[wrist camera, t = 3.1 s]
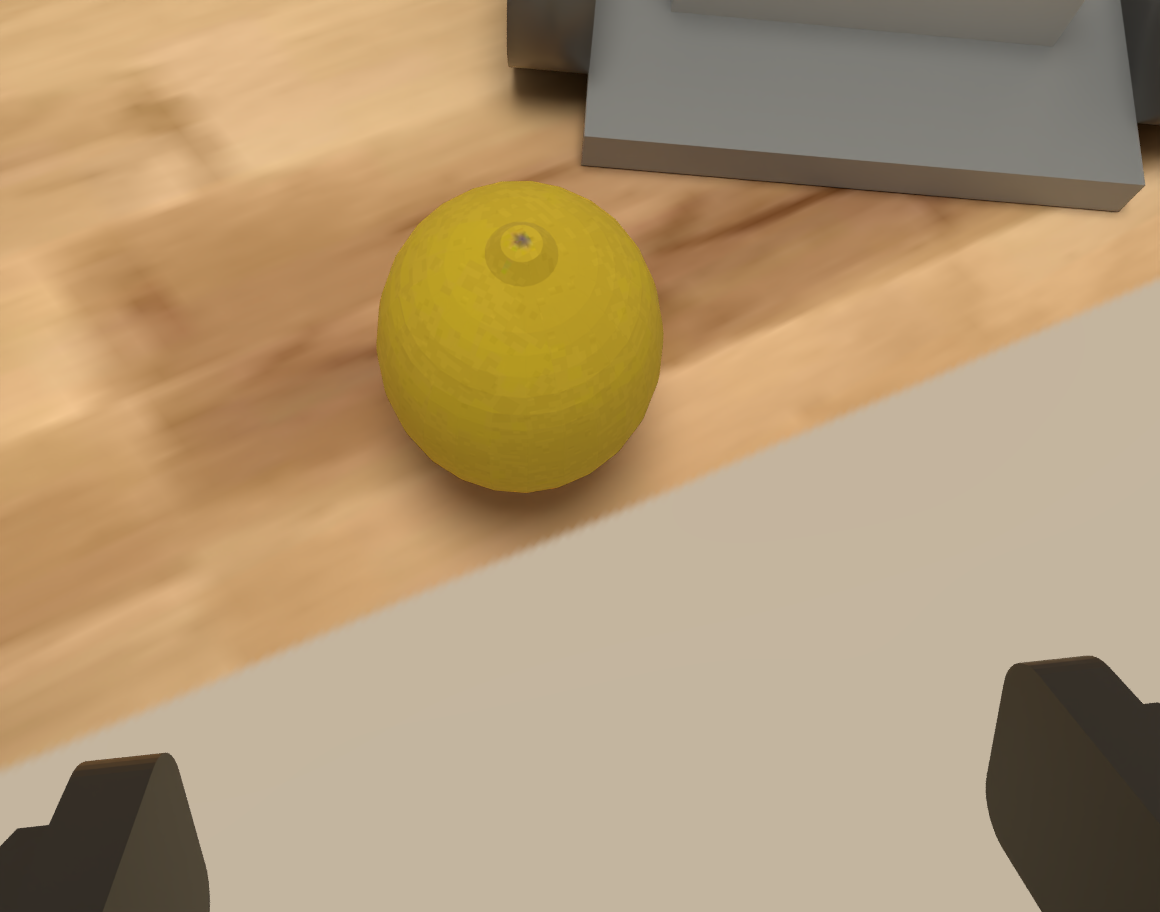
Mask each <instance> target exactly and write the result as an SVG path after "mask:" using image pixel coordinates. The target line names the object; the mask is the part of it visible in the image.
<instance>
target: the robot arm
mask: <svg viewBox="0 0 1160 912" xmlns="http://www.w3.org/2000/svg"><path fill="white" fill-rule="evenodd" d="M986 799H987V806H988V810H989V816H990V819H991V822H992V825H993V829H994V831H995V834H996V836H997V838H998V841H999V843H1000V844H1001V846H1002V848H1003V850H1004V851H1005V853H1006V855H1007V856H1008V858H1009V859H1010V861H1011V863H1012V864H1013V866H1014V867H1015V869H1016V871H1017V872H1018V874H1019V876H1020V877H1021V879H1022V880H1023V882H1024V884H1025V885H1026V887H1027V889H1028V890H1029V892H1030V893H1031V895H1032V897H1033V898H1034V900H1035V902H1036V903H1037V905H1038V906H1039V908H1040V910H1041V911H1042V912H1160V703H1149V704H1143V703H1142V702H1141V701H1140V700H1139V699H1138V698H1137V697H1136V696H1135V695H1134V694H1133V693H1132V691H1131V690H1130V689H1129V688H1128V687H1127V686H1126V685H1125V684H1124V683H1123V682H1122V681H1121V679H1120V678H1119V677H1118V676H1117V675H1116V674H1115V673H1114V672H1113V671H1112V670H1111V669H1110V667H1108V666H1107V665H1106V664H1105V663H1104V662H1103V661H1102V660H1100V659H1099V658H1096V657H1093V656H1080V657H1072V658H1071V657H1070V658H1062V659H1052V660H1043V661H1034V662H1024V663H1018V664H1014V665H1013V666H1012V667H1011V668H1010V669H1009V670H1008V672H1007V674H1006V677H1005V681H1004V685H1003V691H1002V696H1001V701H1000V707H999V712H998V718H997V723H996V729H995V734H994V740H993V745H992V750H991V756H990V761H989V766H988V772H987V778H986ZM0 912H210V895H209V881H208V875H207V870H206V865H205V862H204V858H203V855H202V851H201V847H200V844H199V840H198V837H197V833H196V830H195V826H194V823H193V819H192V815H191V812H190V808H189V805H188V801H187V797H186V794H185V790H184V787H183V783H182V780H181V776H180V773H179V769H178V766H177V764H176V762H175V760H174V758H173V757H172V756H171V755H170V754H168V753H159V754H150V755H141V756H132V757H122V758H113V759H104V760H95V761H85V762H83V763H81V764H79V765H78V766H77V767H76V769H75V770H74V771H73V773H72V775H71V777H70V779H69V782H68V784H67V786H66V788H65V791H64V793H63V795H62V797H61V799H60V802H59V804H58V806H57V808H56V810H55V813H54V815H53V817H52V819H51V822H50V824H49V825H46V826H36V827H27V828H19V829H17V830H16V831H15V832H14V833H13V834H12V835H11V836H10V837H9V838H8V839H7V840H6V841H5V842H4V843H3V844H2V845H1V846H0Z"/></svg>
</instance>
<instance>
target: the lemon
mask: <svg viewBox="0 0 1160 912" xmlns="http://www.w3.org/2000/svg"><path fill="white" fill-rule="evenodd" d="M662 347H663V325H662V319H661V313H660V307H659V301H658V295H657V290H656V286H655V283H654V281H653V278H652V276H651V274H650V272H649V269H648V267H647V265H646V263H645V261H644V259H643V257H642V254H641V252H640V250H639V248H638V247H637V245H636V244H635V243H634V241H633V240H632V239H631V238H630V237H629V235H628V234H627V233H626V232H625V230H624V229H623V228H622V227H621V226H620V224H619V223H618V222H617V221H616V219H614V218H613V217H612V216H611V215H609V214H608V213H607V212H605V211H604V210H603V209H601V208H600V207H599V206H597V205H596V204H595V203H593V202H592V201H591V200H588V199H586V198H584V197H582V196H580V195H577V194H575V193H573V192H570V191H568V190H566V189H564V188H561V187H558V186H553V185H548V184H543V183H538V182H533V181H509V182H498V183H494V184H490V185H486V186H482V187H478V188H474V189H471V190H469V191H467V192H465V193H463V194H461V195H459V196H457V197H455V198H453V199H451V200H449V201H447V202H445V203H443V204H442V205H440V206H439V207H438V208H437V209H436V210H434V211H433V212H432V213H431V214H430V215H429V216H427V217H426V218H425V219H424V220H423V221H421V222H420V223H419V224H418V225H417V227H416V228H415V229H414V231H413V232H412V234H411V235H410V236H409V238H408V239H407V241H406V242H405V244H404V245H403V246H402V248H401V249H400V251H399V252H398V254H397V255H396V257H395V260H394V262H393V264H392V267H391V270H390V273H389V276H388V278H387V281H386V284H385V287H384V289H383V292H382V296H381V300H380V306H379V316H378V330H377V355H378V361H379V365H380V370H381V374H382V379H383V384H384V388H385V392H386V395H387V397H388V400H389V402H390V403H391V405H392V407H393V409H394V411H395V413H396V415H397V417H398V419H399V421H400V422H401V424H402V426H403V428H404V430H405V431H406V433H407V434H408V435H409V436H410V437H411V438H412V440H413V441H414V442H415V443H416V444H417V445H418V446H419V447H420V448H421V449H422V450H423V451H424V453H425V454H426V455H427V456H428V457H429V458H430V459H431V460H432V461H433V462H435V463H436V464H438V465H439V466H441V467H443V468H444V469H446V470H447V471H449V472H451V473H452V474H454V475H455V476H457V477H458V478H460V479H462V480H464V481H467V482H470V483H474V484H477V485H480V486H483V487H486V488H489V489H492V490H496V491H508V492H521V493H529V492H535V491H541V490H547V489H553V488H558V487H561V486H563V485H565V484H568V483H570V482H572V481H575V480H577V479H579V478H582V477H584V476H586V475H588V474H590V473H592V472H593V471H594V470H596V469H597V468H598V467H599V466H601V465H602V464H603V463H605V462H606V461H607V460H609V459H610V458H611V457H612V456H614V455H615V454H616V453H617V452H618V451H620V449H621V448H622V447H623V445H624V444H625V443H626V441H627V440H628V439H629V437H630V436H631V435H632V433H633V432H634V431H635V430H636V428H637V427H638V426H639V424H640V423H641V421H642V420H643V418H644V415H645V413H646V410H647V408H648V405H649V403H650V400H651V398H652V395H653V393H654V390H655V388H656V385H657V383H658V379H659V374H660V365H661V356H662Z"/></svg>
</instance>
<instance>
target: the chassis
mask: <svg viewBox="0 0 1160 912" xmlns="http://www.w3.org/2000/svg"><path fill="white" fill-rule="evenodd" d="M507 57H508V65H509V67H515V68H527V69H538V70H549V71H560V72H571V73H582V74H588V78H587V92H586V106H585V120H584V134H583V148H582V162H581V165H587V166H599V167H610V168H622V169H633V170H645V171H656V172H668V173H679V174H691V175H702V176H714V177H725V178H737V179H749V180H760V181H772V182H783V183H795V184H806V185H818V186H829V187H841V188H852V189H864V190H875V191H887V192H899V193H910V194H922V195H933V196H945V197H956V198H968V199H979V200H991V201H1002V202H1014V203H1025V204H1037V205H1048V206H1060V207H1072V208H1083V209H1095V210H1106V211H1118V212H1119V211H1120V210H1121V209H1122V208H1123V207H1124V206H1125V205H1126V204H1127V203H1128V202H1129V201H1130V200H1131V199H1132V198H1133V197H1134V196H1135V195H1136V194H1137V193H1138V192H1139V191H1140V190H1141V189H1142V188H1143V187H1144V186H1145V180H1144V172H1143V165H1142V157H1141V150H1140V142H1139V135H1138V127H1137V123H1139V124H1151V125H1160V0H507Z"/></svg>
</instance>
